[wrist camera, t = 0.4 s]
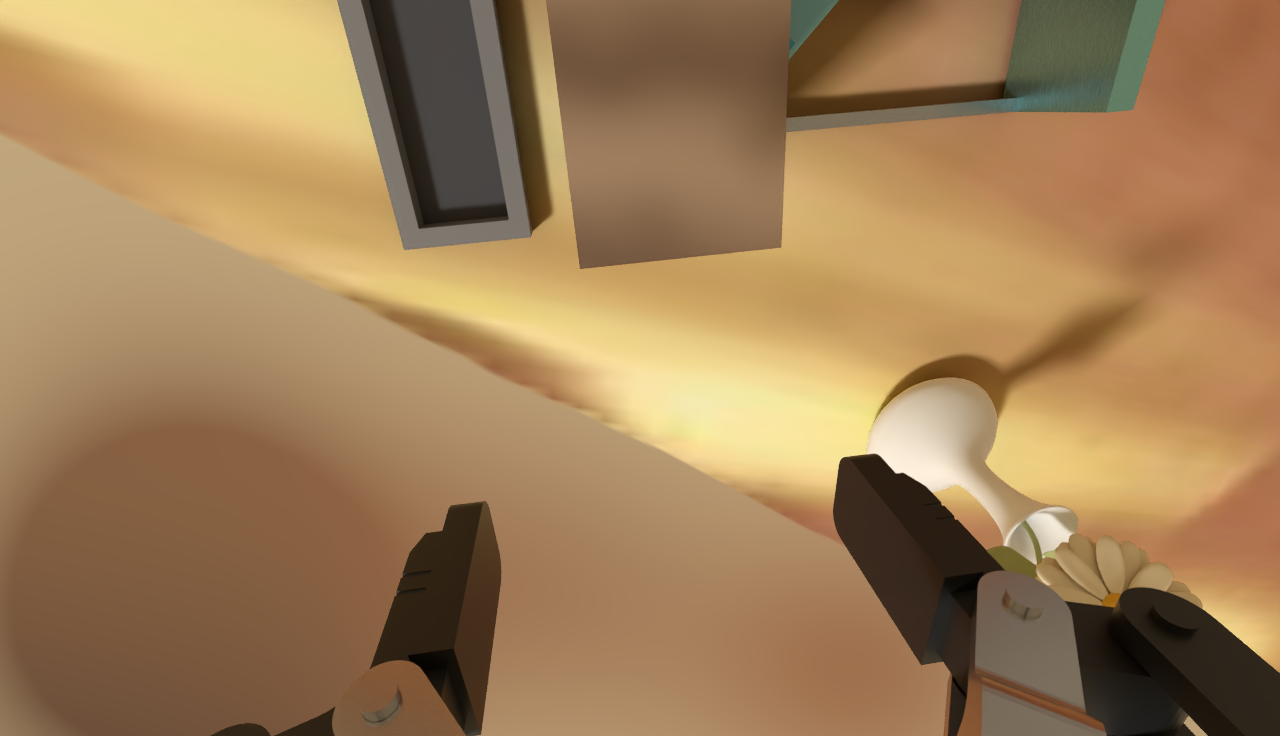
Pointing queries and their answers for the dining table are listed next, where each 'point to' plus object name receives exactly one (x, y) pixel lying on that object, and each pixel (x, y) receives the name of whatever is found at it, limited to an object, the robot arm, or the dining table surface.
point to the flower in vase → (1007, 495)
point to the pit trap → (440, 118)
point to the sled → (1048, 65)
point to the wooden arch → (672, 125)
